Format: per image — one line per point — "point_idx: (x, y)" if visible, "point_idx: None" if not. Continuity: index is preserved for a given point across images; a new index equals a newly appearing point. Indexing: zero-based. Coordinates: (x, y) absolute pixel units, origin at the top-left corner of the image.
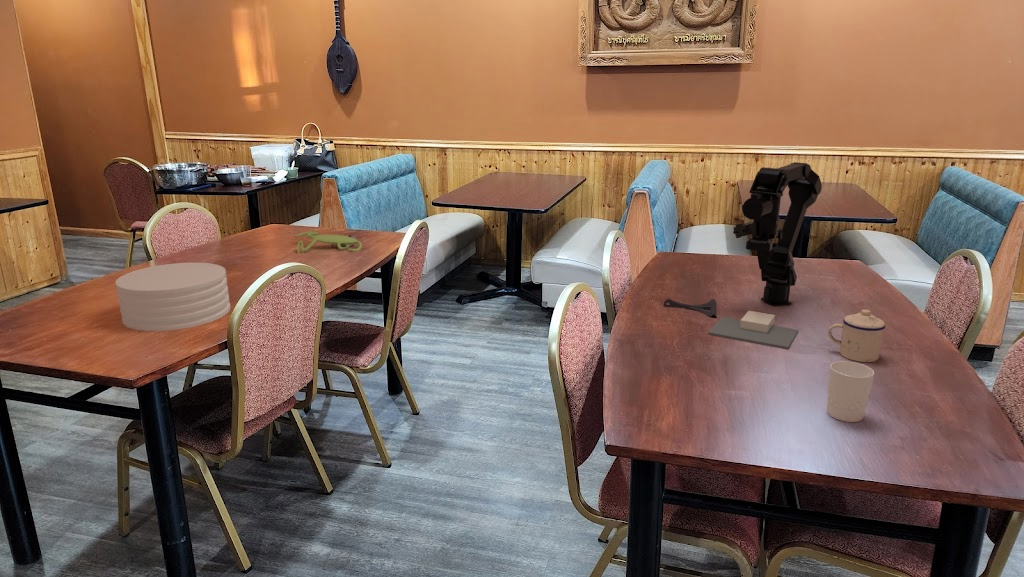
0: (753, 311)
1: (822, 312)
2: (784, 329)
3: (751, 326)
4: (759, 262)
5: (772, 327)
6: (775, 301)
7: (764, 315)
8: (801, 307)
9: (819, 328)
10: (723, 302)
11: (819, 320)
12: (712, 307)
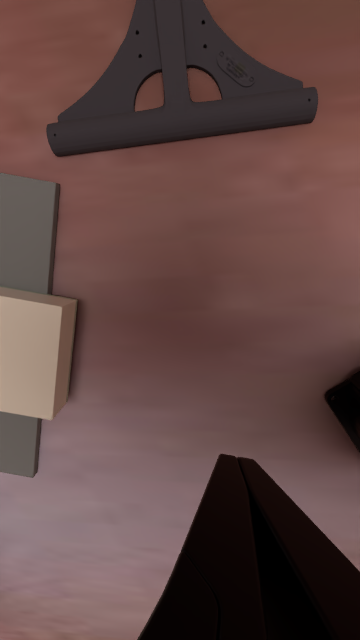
0: (57, 329)
1: None
2: (12, 435)
3: None
4: (196, 512)
5: None
6: (352, 409)
7: (22, 378)
8: (338, 493)
9: (107, 534)
10: (321, 166)
11: None
12: (160, 114)
